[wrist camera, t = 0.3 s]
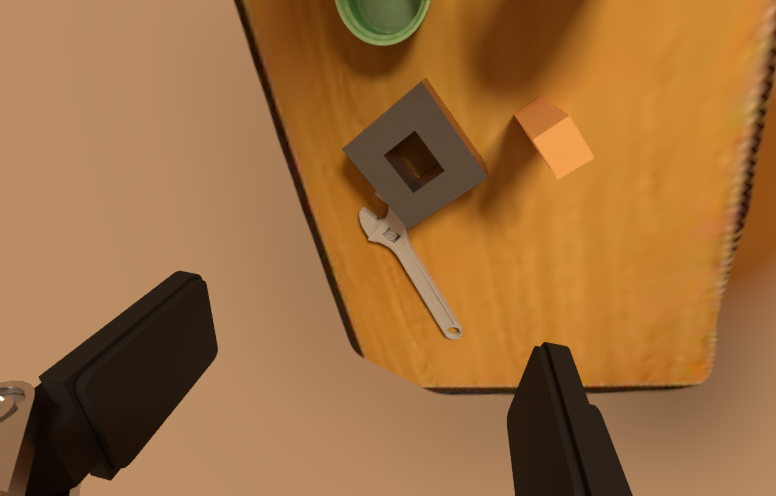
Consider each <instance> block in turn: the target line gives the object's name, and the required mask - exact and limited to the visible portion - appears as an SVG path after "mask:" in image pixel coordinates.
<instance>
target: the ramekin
mask: <svg viewBox="0 0 776 496" xmlns="http://www.w3.org/2000/svg"><path fill="white" fill-rule="evenodd" d="M430 1H431V0H335V4H336V7H337V10H338V13H339V15H340V17H341V19H342V21H343V22H344V24H345V25H346V27H347V28H348V29H349V30H350V32H351V33H352V34H354V35H355V36H356V37H357V38H359V39H360V40H362V41H364V42H366V43H368V44H372V45H376V46H390V45H394V44H397V43H400V42H402V41H404V40H405V39H407V38H408V37H409V36H411V35H412V34H413V33H414V32H415V31H416V30H417V29H418V27H419V26H420V25H421V23H422V21H423V20H424V18H425V16H426V13H427V11H428V8H429V5H430Z"/></svg>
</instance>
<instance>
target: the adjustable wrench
mask: <svg viewBox="0 0 776 496" xmlns="http://www.w3.org/2000/svg"><path fill="white" fill-rule="evenodd" d="M374 195H376V196H377V197H378V198H380V199H381V200H382V201H384V200H383V198H382V197H381V196H380V195H379V194H378V192H377V191H376V192H375V194H374ZM384 202H385V201H384ZM385 203H386V202H385ZM386 204H387V203H386ZM359 217H360V222H361V225H362V227H363V229H364V231H365V232H366V234H367V235H368V236H369V237H368V240H370V241H373V242H375V243H376V242H380V243H382V244H384V245H386V246H388V247H389V248H391V249H392V250H393V251H394V252H395V254H396V255H397V256H398V258H399V260H400V261H401V263H402V265H403V266H404V268H405V270H406V271H407V273H408V274H409V276H410V278H411V279H412V281H413V283H414V284H415V286H416V288H417V289H418V291H419V293H420V294H421V296H422V298H423V299H424V301H425V303H426V304H427V306H428V308H429V309H430V311H431V313H432V314H433V316H434V318H435V319H436V321H437V323H438V324H439V326H440V328H441V329H442V331H443V332H444V334H445V336H446V337H447V338H449V339H458V338H460V337H461V336H462V326H461V324H460V323H459V321H458V319H457V318H456V316H455V315H454V313H453V311H452V310H451V308H450V307H449V305H448V303H447V302H446V300H445V298H444V297H443V295H442V294H441V292H440V290H439V289H438V287H437V285H436V284H435V282H434V281H433V279H432V277H431V276H430V274H429V273H428V271H427V269H426V268H425V266H424V264H423V263H422V261H421V260H420V258H419V256H418V255H417V253H416V251H415V250H414V248H413V247H412V245H411V243H410V240H409V236H408V230H407V228H406V226H405V225H404V224H403V223H402V222H401V220H400V219H399V218H398V217H397V215H396V214H395V213H394V212H393V211H392V209H391V208H390V207H389V208H388V214H387V215H386V217H385V218H382V219H377V216H376V215H375V214H373V213H372V212H371V211H369V210H368V209H367V208H365V207H364V206H363V207H362V208H361V210H360V212H359ZM399 235H400V236H399ZM397 236H399V237H398V238H397ZM395 238H397V239H396V240H395ZM450 327H455V328H458V329H459V331H458V332H457V333H451V332H449V331H448V328H450Z"/></svg>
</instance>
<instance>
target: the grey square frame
mask: <svg viewBox="0 0 776 496" xmlns="http://www.w3.org/2000/svg"><path fill="white" fill-rule="evenodd" d="M414 131H416V133H417V134H418V135H419V137H420V138H421V139H422V141H423V142H424V143H425V145H426V146H427V147H428V149H429V150H430V152H431V153H432V154H433V156H434V157H435V158H436V160H437V161H438V162H439V164H438V165H437V166H435V167H434V168H432V169H431V170H430V171H428V172H427V173H425V174H424V175H423V176H421V177H420V178H417V177H416V175H415V174H414V173H413V172H412V170H411V169H410V168H409V166H408V165H407V164H406V162H405V161H404V160H403V159H402V157H401V156H400V155H399V153H398V152H397V151H396V149H395V148H394V147H395V146H396V145H397V144H398V143H400V142H401V141H402V140H403V139H405V138H406V137H407V136H409V135H410V134H411V133H412V132H414ZM342 150H343V151H344V152H345V153H346V155H347V156H348V157H349V158H350V159H351V161H352V162H353V163H354V164H355V166H356V167H357V168H358V169H359V170H360V172H361V173H362V174H363V175H364V177H365V178H366V179H367V180H368V181H369V183H370V184H371V185H372V186H373V187H374V189H375V190H376V191H377V192H378V194H379V195H380V196H381V197H382V198H383V200H384V201H385V202H386V203H387V205H388V206H389V207H390V208H391V209H392V211H393V212H394V213H395V214H396V215H397V217H398V218H399V219H400V220H401V222H402V223H403V224H404V225H405V226H406V228H407V229H410V228H412V227H413V226H415V225H416V224H418V223H419V222H421V221H422V220H424V219H425V218H427V217H429V216H430V215H432V214H433V213H435V212H436V211H438V210H439V209H441V208H442V207H444V206H445V205H447V204H449V203H450V202H452V201H453V200H455V199H456V198H458V197H459V196H461V195H462V194H464V193H465V192H467V191H469V190H470V189H472V188H473V187H475V186H476V185H478V184H479V183H481V182H482V181H484V180H485V179H487V178H488V172H487V167H486V163H485V162H484V161H483V159H482V158H481V156H480V155H479V153H478V152H477V150H476V149H475V148H474V146H473V145H472V143H471V142H470V140H469V139H468V137H467V136H466V135H465V133H464V132H463V130H462V129H461V127H460V126H459V124H458V123H457V122H456V120H455V119H454V117H453V116H452V114H451V113H450V111H449V110H448V109H447V107H446V106H445V104H444V103H443V101H442V100H441V99H440V97H439V96H438V94H437V93H436V91H435V90H434V88H433V87H432V86H431V84H430V83H429V81H428V80H427V78H425V79H423V80H422V81H421V82H420V83H419V84H418V85H416V86H415V87H414V88H413V89H412V90H411V91H409V92H408V93H407V94H406V95H405V96H403V97H402V98H401V99H400V100H399V101H398V102H396V103H395V104H394V105H393V106H392V107H391V108H389V109H388V110H387V111H386V112H385V113H384V114H382V115H381V116H380V117H379V118H378V119H377V120H375V121H374V122H373V123H372V124H371V125H370V126H368V127H367V128H366V129H365V130H364V131H363V132H361V133H360V134H359V135H358V136H357V137H356V138H354V139H353V140H352V141H351V142H350V143H349V144H348V145H346V146H345V147H344V148H343V149H342Z"/></svg>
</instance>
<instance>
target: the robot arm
mask: <svg viewBox="0 0 776 496" xmlns="http://www.w3.org/2000/svg"><path fill="white" fill-rule="evenodd" d="M217 351H218V347H217V340H216V335H215V329H214V323H213V318H212V312H211V306H210V301H209V295H208V290H207V284H206V282H205V281H203V280H202V277H201V276H200V275H198V274H194V273H189V272H183V271H177V272H175V273H174V274H172V275H171V276H170V277H168V278H167V279H166V280H164V281H163V282H162V283H160V284H159V285H158V286H157V287H155V288H154V289H153V290H151V291H150V292H149V293H147V294H146V295H145V296H144V297H142V298H141V299H140V300H138V301H137V302H136V303H134V304H133V305H132V306H131V307H129V308H128V309H126V310H125V311H124V312H123V313H121V314H120V315H119V316H117V317H116V318H115V319H113V320H112V321H111V322H109V323H108V324H107V325H106V326H104V327H103V328H102V329H100V330H99V331H98V332H96V333H95V334H94V335H93V336H91V337H90V338H89V339H87V340H86V341H85V342H83V343H82V344H81V345H79V346H78V347H77V348H76V349H74V350H73V351H72V352H70V353H69V354H68V355H66V356H65V357H64V358H63V359H61V360H60V361H59V362H57V363H56V364H55V365H53V366H52V367H51V368H49V369H48V370H47V371H45V372H44V373H43V374H42V375H40V376H39V379H40V380H41V382H42V383H40V384H39V385H38V386H37V387H35V388H33V387H32V385H31V384H29V383H26V382H23V381H9V382H3V383H0V496H79V493H80V485H81V481H82V480H83V479H84V478H85V477H86V476H87V474H89V472H90V474H91V475H92V476H96V477H99V478H103V479H107V480H112V479H113V478H114V476H115V475H116V474H117V473H118V471H119V470H120V469H121V468H125V467H127V466H128V465H129V464H130V463H131V462H132V461H133V460H134V459H135V457H136V456H137V455H138V454H139V452H140V451H141V450H142V449H143V447H144V446H145V445H146V443H148V441H149V440H150V439H151V437H152V436H153V435H154V434H155V433H156V431H157V430H158V429H159V428H160V426H161V425H162V424H163V423H164V421H165V420H166V419H167V417H168V416H169V415H170V414H171V413H172V411H173V410H174V409H175V408H176V407H177V405H178V404H179V403H180V402H181V400H182V399H183V398H184V397H185V395H186V394H187V393H188V392H189V390H190V389H191V388H192V387H193V386H194V384H195V383H196V382H197V380H198V379H199V378H200V377H201V376H202V374H203V373H204V372H205V371H206V369H207V368H208V367H209V366H210V364H211V363H212V362H213V361H214V359H215V357H216V355H217ZM507 430H508V438H509V446H510V455H511V462H512V472H513V479H514V489H515V496H633V495H632V493H631V490H630V487H629V485H628V482H627V480H626V477H625V474H624V472H623V469H622V466H621V464H620V461H619V459H618V456H617V454H616V451H615V448H614V446H613V443H612V440H611V438H610V435H609V433H608V430H607V428H606V425H605V423H604V420H603V417H602V415H601V413H600V411H599V409H598V408H597V407H596V406H595V405H591V404H589V402H588V399H587V396H586V393H585V390H584V388H583V385H582V382H581V379H580V376H579V374H578V371H577V368H576V365H575V363H574V360H573V357H572V354H571V351H570V349H569V348H568V347H567V346H563V345H558V344H553V343H547V342H544V343H543V344H542V345H541V347H539V346H535V347H534V349H533V351H532V353H531V356H530V358H529V361H528V363H527V366H526V368H525V371H524V373H523V376H522V378H521V381H520V383H519V386H518V388H517V391H516V393H515V396H514V398H513V401H512V403H511V406H510V408H509V411H508V416H507Z"/></svg>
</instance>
